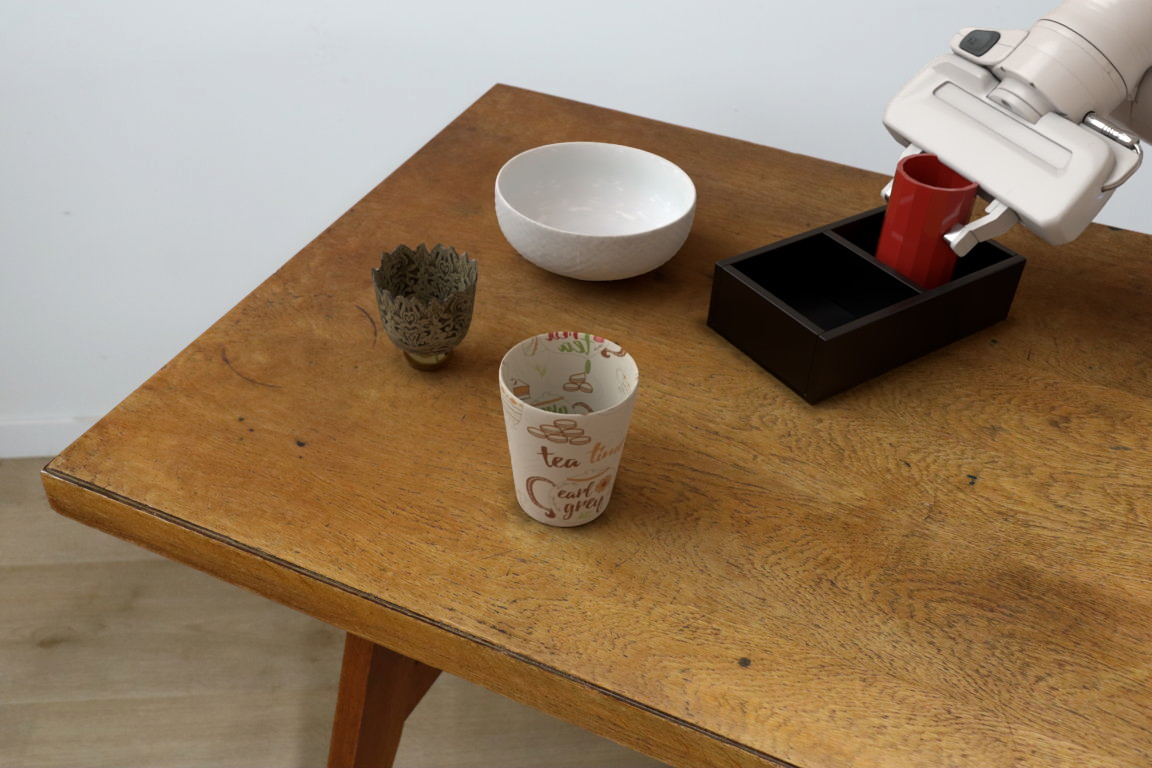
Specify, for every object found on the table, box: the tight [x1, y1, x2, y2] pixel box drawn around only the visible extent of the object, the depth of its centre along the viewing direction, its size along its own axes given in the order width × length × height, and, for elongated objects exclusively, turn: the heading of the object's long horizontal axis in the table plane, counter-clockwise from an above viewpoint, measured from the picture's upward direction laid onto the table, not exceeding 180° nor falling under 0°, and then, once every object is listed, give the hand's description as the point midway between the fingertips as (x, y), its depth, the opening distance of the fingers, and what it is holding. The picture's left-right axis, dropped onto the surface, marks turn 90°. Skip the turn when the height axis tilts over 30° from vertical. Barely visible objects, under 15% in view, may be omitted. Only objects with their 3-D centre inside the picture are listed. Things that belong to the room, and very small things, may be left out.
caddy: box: [706, 203, 1028, 406], centre depth 87 cm, size 22×12×6 cm, turn 124°
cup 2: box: [875, 153, 979, 291], centre depth 87 cm, size 6×6×10 cm
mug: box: [498, 331, 640, 528], centre depth 70 cm, size 8×13×10 cm, turn 166°
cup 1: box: [370, 242, 479, 371], centre depth 80 cm, size 8×7×8 cm
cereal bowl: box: [494, 141, 698, 282], centre depth 93 cm, size 17×17×7 cm
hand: (918, 225), depth 87 cm, fingers closed on cup 2, 6 cm apart
